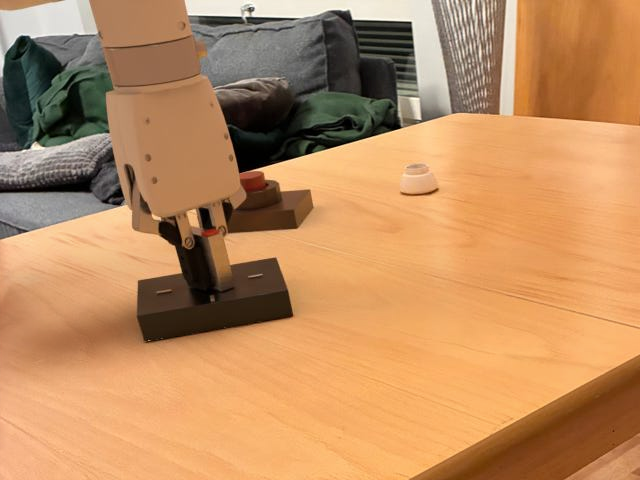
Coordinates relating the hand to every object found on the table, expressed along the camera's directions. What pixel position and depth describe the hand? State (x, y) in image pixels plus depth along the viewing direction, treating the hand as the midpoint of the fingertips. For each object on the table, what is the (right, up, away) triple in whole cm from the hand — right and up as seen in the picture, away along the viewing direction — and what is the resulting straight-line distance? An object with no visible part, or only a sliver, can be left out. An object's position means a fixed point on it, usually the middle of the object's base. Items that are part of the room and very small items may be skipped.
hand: (209, 282), depth 94 cm
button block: (-1, +17, +26) cm, 31 cm away
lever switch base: (0, -2, +2) cm, 3 cm away
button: (-2, +20, +24) cm, 31 cm away
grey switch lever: (0, 0, 0) cm, 0 cm away
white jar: (+18, +23, +31) cm, 43 cm away
